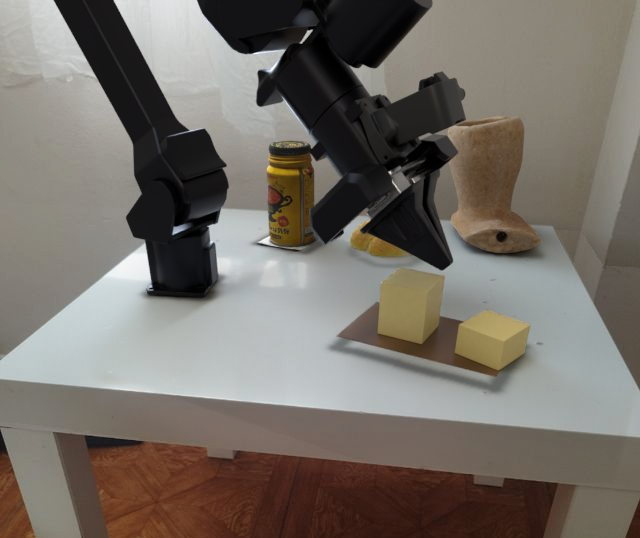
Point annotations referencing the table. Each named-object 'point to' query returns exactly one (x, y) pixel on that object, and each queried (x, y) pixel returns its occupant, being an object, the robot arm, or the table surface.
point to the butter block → (410, 304)
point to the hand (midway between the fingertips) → (447, 266)
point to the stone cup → (489, 184)
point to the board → (432, 348)
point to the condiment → (290, 195)
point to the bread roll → (374, 244)
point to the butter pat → (492, 339)
